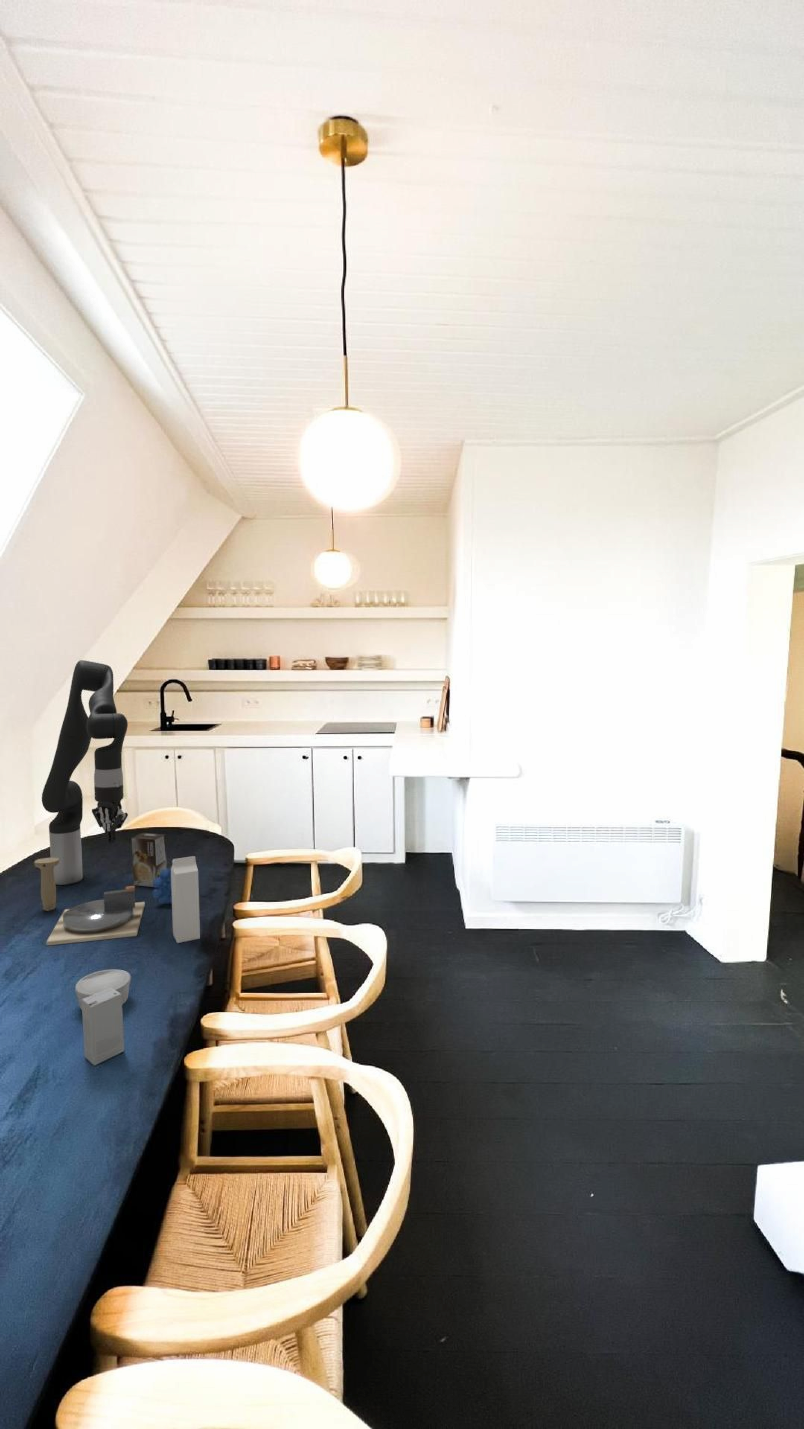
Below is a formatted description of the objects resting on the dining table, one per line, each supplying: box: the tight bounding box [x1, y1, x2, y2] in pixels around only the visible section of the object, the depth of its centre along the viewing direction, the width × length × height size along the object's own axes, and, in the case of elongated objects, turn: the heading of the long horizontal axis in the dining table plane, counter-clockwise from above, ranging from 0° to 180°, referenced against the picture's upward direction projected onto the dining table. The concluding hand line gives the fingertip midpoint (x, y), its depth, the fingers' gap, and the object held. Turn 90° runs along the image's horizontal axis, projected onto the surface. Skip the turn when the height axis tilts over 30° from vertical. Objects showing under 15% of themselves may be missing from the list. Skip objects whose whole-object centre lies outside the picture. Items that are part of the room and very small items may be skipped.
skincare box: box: [81, 988, 125, 1066], centre depth 126 cm, size 6×4×12 cm
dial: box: [63, 885, 136, 933], centre depth 185 cm, size 19×18×8 cm
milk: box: [170, 855, 201, 944], centre depth 176 cm, size 6×6×22 cm
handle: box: [34, 857, 59, 912], centre depth 195 cm, size 5×6×15 cm
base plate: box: [46, 901, 146, 947], centre depth 185 cm, size 22×22×1 cm
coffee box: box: [131, 832, 168, 888], centre depth 216 cm, size 9×6×16 cm
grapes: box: [151, 867, 172, 905], centre depth 200 cm, size 12×7×12 cm, turn 112°
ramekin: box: [74, 968, 132, 1010], centre depth 144 cm, size 11×11×5 cm
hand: (110, 842), depth 188 cm, fingers closed
